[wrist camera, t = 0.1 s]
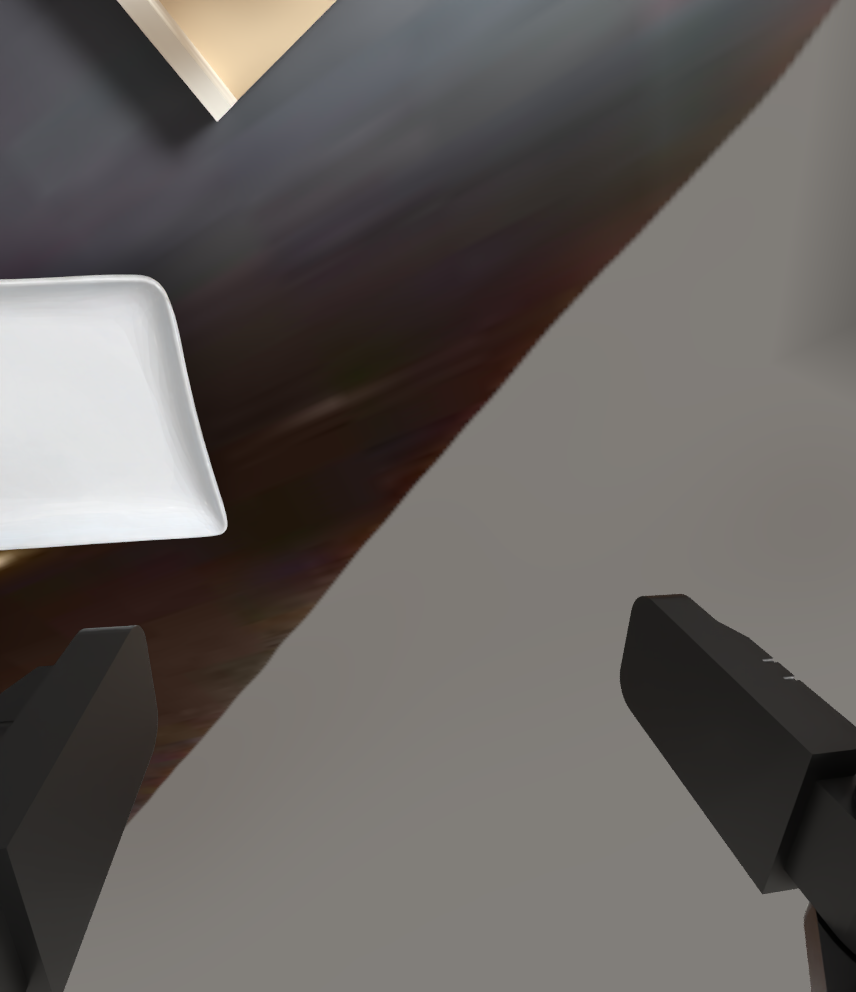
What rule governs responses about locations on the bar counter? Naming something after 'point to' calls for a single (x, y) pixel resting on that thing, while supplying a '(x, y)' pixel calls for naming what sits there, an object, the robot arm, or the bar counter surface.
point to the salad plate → (98, 417)
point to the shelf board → (223, 40)
